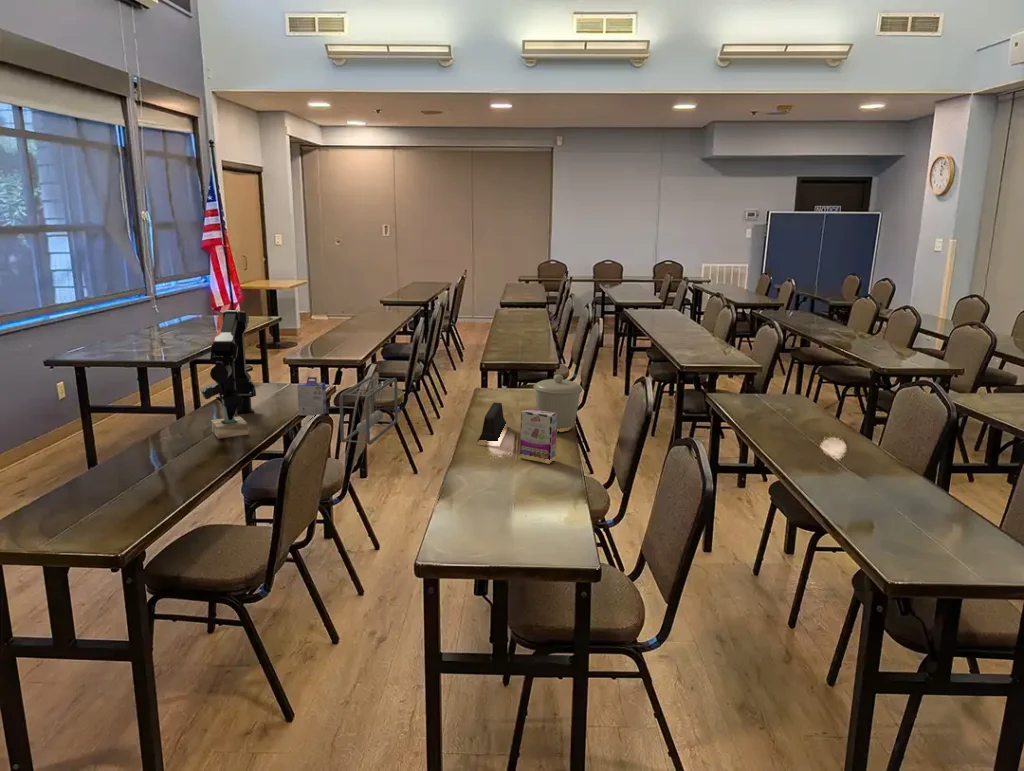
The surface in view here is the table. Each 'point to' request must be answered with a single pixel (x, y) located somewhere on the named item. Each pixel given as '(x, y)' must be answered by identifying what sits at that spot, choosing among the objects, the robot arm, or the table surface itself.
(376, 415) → the cube frame
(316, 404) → the ink cartridge box
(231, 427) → the jig block
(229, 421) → the pin
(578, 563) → the table surface
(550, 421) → the candy bar box
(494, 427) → the barrier
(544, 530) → the table surface
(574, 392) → the canister
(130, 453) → the table surface
